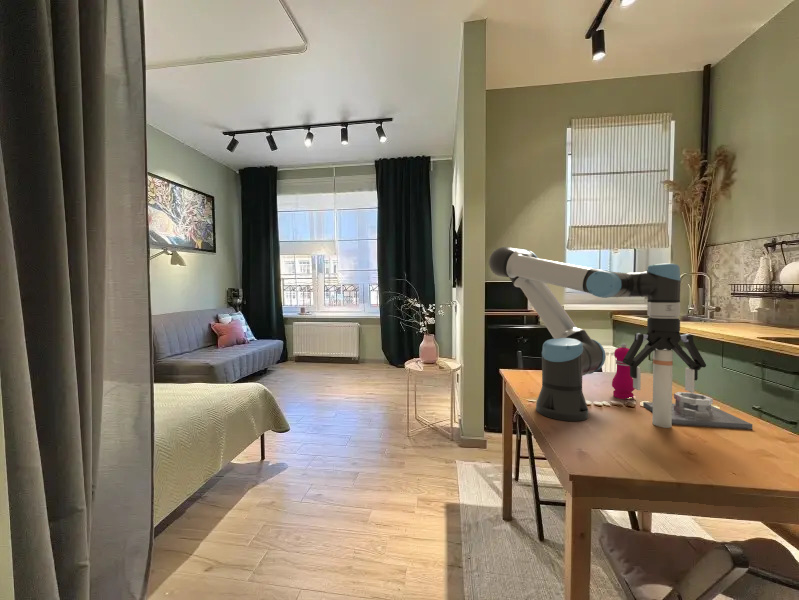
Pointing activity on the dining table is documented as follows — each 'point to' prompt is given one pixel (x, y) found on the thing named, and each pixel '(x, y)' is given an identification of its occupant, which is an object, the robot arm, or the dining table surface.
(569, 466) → the dining table surface
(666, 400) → the cream ringed tube
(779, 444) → the dining table surface
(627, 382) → the pepper mill
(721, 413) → the tube holder base
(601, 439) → the dining table surface
